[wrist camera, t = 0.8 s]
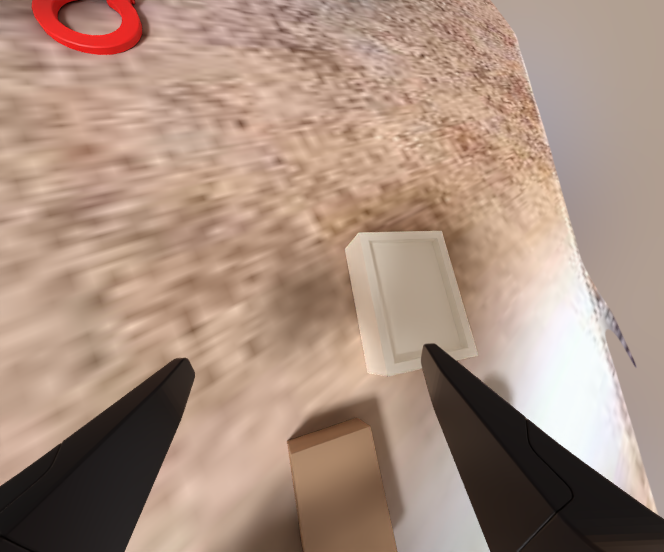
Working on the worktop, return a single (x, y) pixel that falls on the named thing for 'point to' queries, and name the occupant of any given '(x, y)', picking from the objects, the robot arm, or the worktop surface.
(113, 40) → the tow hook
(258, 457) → the worktop surface
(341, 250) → the worktop surface
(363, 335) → the box base
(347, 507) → the lid
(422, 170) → the worktop surface
